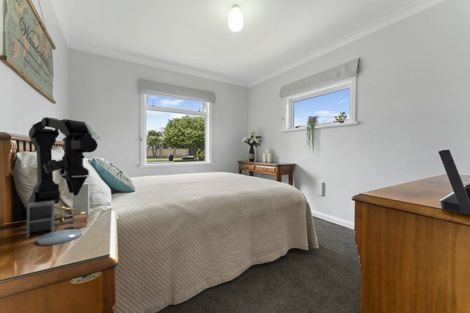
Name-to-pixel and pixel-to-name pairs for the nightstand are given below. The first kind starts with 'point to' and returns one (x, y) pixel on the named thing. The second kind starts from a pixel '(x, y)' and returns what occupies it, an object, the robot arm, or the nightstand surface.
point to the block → (80, 221)
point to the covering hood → (40, 209)
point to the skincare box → (82, 200)
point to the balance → (62, 220)
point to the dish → (59, 237)
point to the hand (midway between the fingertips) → (73, 194)
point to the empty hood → (40, 224)
